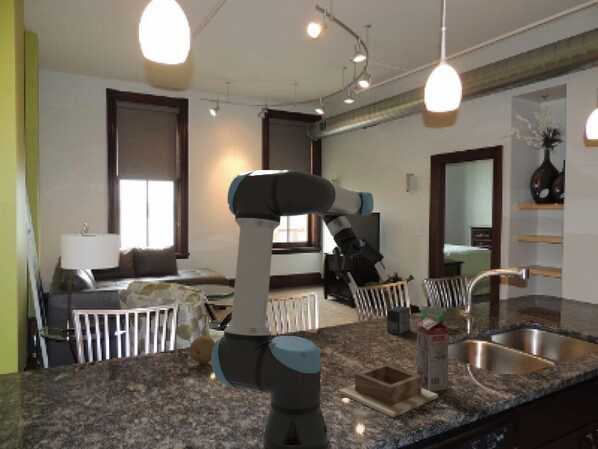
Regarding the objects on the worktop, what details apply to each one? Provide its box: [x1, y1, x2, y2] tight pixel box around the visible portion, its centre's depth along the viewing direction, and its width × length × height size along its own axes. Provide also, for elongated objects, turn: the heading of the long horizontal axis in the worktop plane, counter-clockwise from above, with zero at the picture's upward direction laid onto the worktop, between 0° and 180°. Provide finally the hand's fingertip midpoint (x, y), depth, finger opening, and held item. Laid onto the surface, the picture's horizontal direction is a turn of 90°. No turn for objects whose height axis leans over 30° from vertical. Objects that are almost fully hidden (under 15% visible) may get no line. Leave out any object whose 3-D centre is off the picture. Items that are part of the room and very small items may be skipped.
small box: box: [386, 305, 411, 336], centre depth 199 cm, size 11×6×10 cm, turn 141°
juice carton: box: [416, 313, 449, 392], centre depth 137 cm, size 7×7×22 cm
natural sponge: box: [188, 335, 216, 365], centre depth 156 cm, size 9×9×10 cm
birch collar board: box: [338, 363, 439, 418], centre depth 130 cm, size 20×20×6 cm
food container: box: [418, 304, 447, 325], centre depth 205 cm, size 12×6×10 cm, turn 73°
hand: (371, 285), depth 149 cm, fingers open, 13 cm apart
